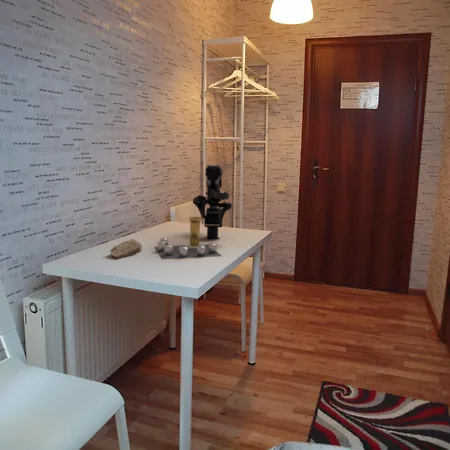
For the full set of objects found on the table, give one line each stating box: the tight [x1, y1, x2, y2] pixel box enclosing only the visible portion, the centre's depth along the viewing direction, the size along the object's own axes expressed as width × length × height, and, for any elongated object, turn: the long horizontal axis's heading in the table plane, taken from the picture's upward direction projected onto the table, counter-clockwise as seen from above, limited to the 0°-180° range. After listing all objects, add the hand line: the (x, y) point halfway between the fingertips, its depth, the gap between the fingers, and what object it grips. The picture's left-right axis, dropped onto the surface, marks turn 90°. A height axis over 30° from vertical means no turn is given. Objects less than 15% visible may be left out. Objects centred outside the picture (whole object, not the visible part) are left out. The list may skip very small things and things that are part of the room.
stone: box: [107, 238, 143, 260], centre depth 193 cm, size 21×6×10 cm
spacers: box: [157, 237, 218, 259], centre depth 194 cm, size 16×28×4 cm, turn 70°
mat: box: [153, 243, 223, 260], centre depth 197 cm, size 24×26×1 cm
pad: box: [185, 243, 205, 249], centre depth 207 cm, size 9×9×1 cm
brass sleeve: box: [188, 216, 202, 246], centre depth 205 cm, size 5×5×13 cm
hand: (212, 220), depth 209 cm, fingers open, 9 cm apart
